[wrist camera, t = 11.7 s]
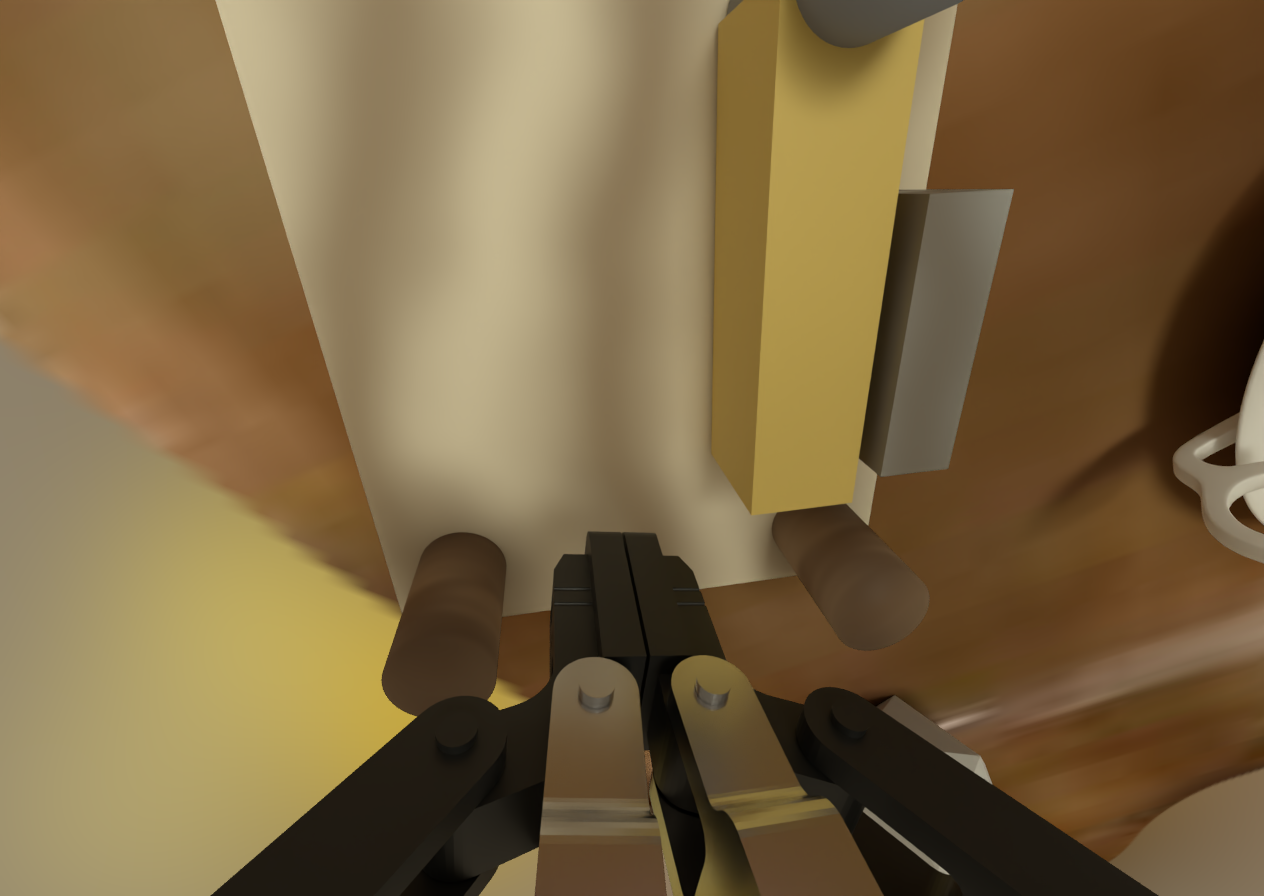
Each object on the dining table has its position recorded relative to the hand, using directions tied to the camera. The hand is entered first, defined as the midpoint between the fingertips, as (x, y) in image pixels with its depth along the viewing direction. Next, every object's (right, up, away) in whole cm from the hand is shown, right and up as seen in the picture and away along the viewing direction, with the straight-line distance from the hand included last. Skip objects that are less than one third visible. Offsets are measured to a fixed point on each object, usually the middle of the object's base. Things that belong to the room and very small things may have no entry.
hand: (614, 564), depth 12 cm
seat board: (0, +7, +6) cm, 9 cm away
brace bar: (+4, +9, +4) cm, 10 cm away
